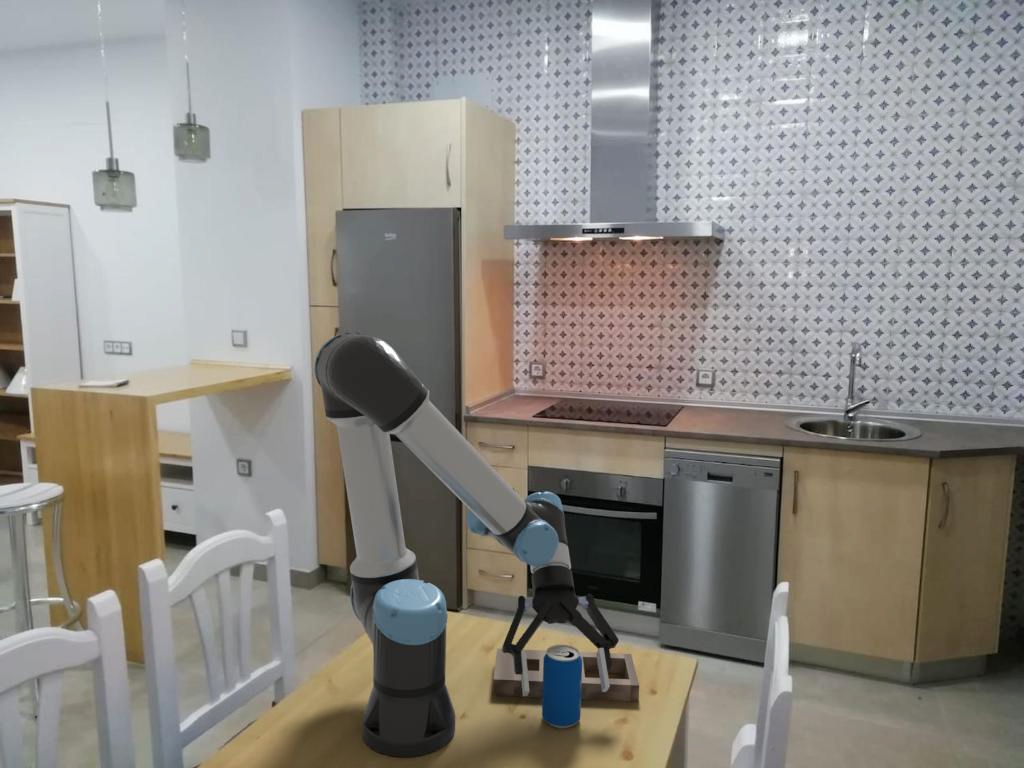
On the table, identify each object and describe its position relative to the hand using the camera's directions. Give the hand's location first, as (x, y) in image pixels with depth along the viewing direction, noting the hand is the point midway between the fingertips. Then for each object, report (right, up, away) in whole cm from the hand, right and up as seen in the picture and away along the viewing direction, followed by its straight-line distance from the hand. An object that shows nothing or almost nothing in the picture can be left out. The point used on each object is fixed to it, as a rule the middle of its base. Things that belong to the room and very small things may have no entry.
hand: (566, 691), depth 124 cm
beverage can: (-1, -6, +2) cm, 6 cm away
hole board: (+1, -4, +15) cm, 15 cm away
